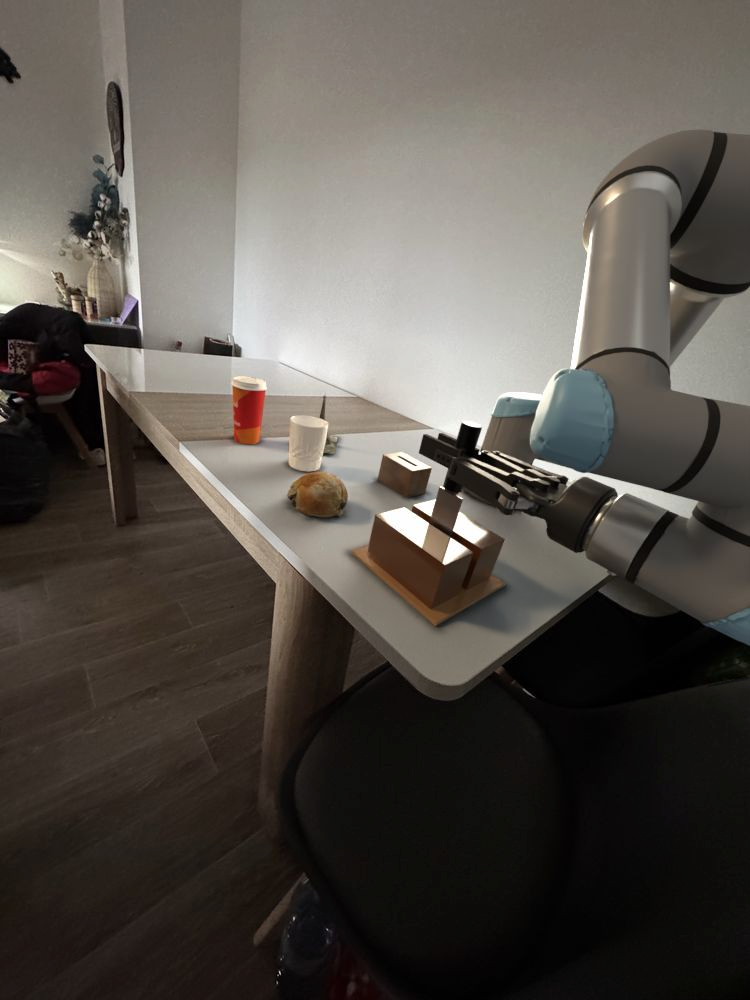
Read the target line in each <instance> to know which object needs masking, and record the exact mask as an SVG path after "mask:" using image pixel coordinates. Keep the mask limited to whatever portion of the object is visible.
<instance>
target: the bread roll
mask: <svg viewBox="0 0 750 1000" xmlns="http://www.w3.org/2000/svg"><path fill="white" fill-rule="evenodd" d="M289 487H290V488H289V489H288V491H287V496H286V497H287V499H289V500H290V501H291V505H292V507H293V508H294V509H295V510H296V511H297V512H299V513H301V514H303V515H305V516H307V517H315V518H316V517H317V518H323V519H328V518H334V517H340V516H342V515H343V514H344V509H345V508H346V505H347V503H348V498H349V495H348V494H349V493H348V489H347V487H346V486H345V484H344V482H343V481H342V480H341V479H340V478H338V477H337V475H336V474H334V473H328V472H324V471H312V472H307V473H305V474H303V475H301V476H300V477H299V478H298V479H296V480H295V481H293V482H292V484H291V485H290V486H289Z"/></svg>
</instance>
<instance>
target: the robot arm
mask: <svg viewBox="0 0 750 1000" xmlns="http://www.w3.org/2000/svg"><path fill="white" fill-rule="evenodd" d="M582 224H583V225H582V232H581V234H582V235H581V236H582V243H583V247H584V248H585V251H586V252H587V256H586V257H587V258H586V265H585V270H584V271H585V272H584V276H583V277H584V278H583V283H582V291H581V297H580V305H579V310H578V311H579V312H578V317H577V324H576V330H575V331H576V332H575V337H574V345H573V350H572V351H573V352H572V359H571V365H570V367H569V368H567V367H566V368H561V369H559V370H557V372H555V373H554V374H553V375H552V377H551V378H550V379H549V380H548V383H547V384H546V387H545V389H544V390H543V393H542V394H539V393H531V392H519V391H518V392H517V391H513V392H510V391H509V392H504V393H503V394H501V395H500V396H499V397H498V398H497V399H496V402H495V405H494V408H493V411H491V413H490V416H491V417H490V420H489V423H488V427H487V428H486V431H485V434H484V438H483V442H482V445H481V447H480V448H477V447H476V448H475V451H474V455H473V458H471V457H469V456H466V455H465V453H466V450H467V449H464V448H460V449H458V448H456V447H455V443H456V440H457V438H456V437H453V436H450V435H448V434H446V433H444V432H438V435H437V437H434V436H433V435H430V434H428V433H424V434H422V438H421V442H420V446H419V450H418V454H420V455H421V456H423V457H425V458H427V459H429V460H431V461H432V462H435V463H437V464H439V465H440V466H442V467H445V468H447V470H448V469H449V473H448V476H447V477H448V478H450V479H451V480H453V481H455V482H456V483H458V484H459V485H461V486H463V489H462V490H464V492H465V493H467V494H468V495H469V496H471V497H473V498H474V499H476V500H478V501H481V502H483V503H486V504H489V505H490V506H491V505H492V506H493V507H495V508H496V509H497V511H499V512H500V513H501V514H503V515H504V516H510V517H511V516H513V514H514V510H520V511H521V512H522V513H523V514H526V515H528V516H530V517H533V518H534V517H536V518H539V519H542V520H544V522H545V524H546V530H545V531H546V536H547V537H548V539H549V540H551V541H553V542H555V543H556V544H559V545H560V546H562V547H564V548H565V549H568V550H570V551H571V552H573V553H575V554H582V553H584V554H585V558H586V559H587V560H589V561H591V562H592V563H595V564H597V565H598V566H600V567H601V568H604V569H605V570H606V571H607V572H606V573H607V574H608V575H609V576H611V577H616V576H617V577H620V578H622V579H624V580H626V581H627V582H628V583H630V584H633V585H635V586H637V587H639V588H641V589H642V590H644V591H646V592H648V593H649V594H652V595H653V596H655V597H656V598H658V599H660V600H662V601H664V602H666V603H667V604H669V605H671V606H673V607H675V608H676V609H678V610H680V611H681V612H683V613H685V614H687V615H688V616H690V617H692V618H694V619H696V620H697V621H699V623H701V624H702V625H703V626H705V627H709V628H711V629H713V630H715V631H717V632H719V633H721V634H723V635H725V636H727V637H730V638H732V639H733V640H735V641H737V642H739V643H740V642H741V643H743V644H745V645H747V646H749V647H750V405H746V404H741V403H737V402H730V401H725V400H719V399H715V398H714V399H713V398H707V397H703V396H699V395H694V394H690V393H685V392H682V391H677V390H673V389H672V388H671V387H672V380H671V367H672V366H673V364H674V363H675V362H676V360H677V359H678V358H679V357H680V356H681V354H682V353H683V352H684V350H685V349H686V347H688V345H689V344H690V343H691V341H692V340H693V339H694V338H695V336H696V335H697V334H698V333H699V331H700V330H701V329H702V328H703V326H704V325H705V324H706V323H707V322H708V320H709V319H710V317H712V315H713V314H714V312H715V311H716V310H717V308H718V307H720V305H721V304H722V303H723V301H724V300H726V299H728V298H733V297H735V296H739V295H742V294H744V293H746V292H747V290H748V289H750V134H742V133H732V132H720V131H713V130H711V129H701V128H698V129H687V130H680V131H676V132H673V133H669V134H665V135H663V136H661V137H658V138H656V139H653V140H652V141H650V142H648V143H646V144H643V145H642V146H641V147H639V148H637V149H636V150H634V151H632V152H631V153H630V154H628V155H627V156H626V157H625V158H623V159H622V160H620V162H618V163H617V164H616V165H615V166H614V167H613V168H612V169H611V170H610V171H609V172H608V173H607V174H606V175H605V177H604V178H603V179H602V180H601V182H600V183H599V184H598V186H597V188H596V189H595V190H594V193H593V194H592V196H591V197H590V200H589V201H588V205H587V208H586V211H585V214H584V219H583V223H582ZM535 460H538V461H542V462H546V463H549V464H553V465H557V466H559V467H565V468H567V469H571V470H573V471H575V472H577V473H581V474H593V475H596V476H600V477H605V478H608V479H613V480H616V481H620V482H623V483H628V484H633V485H637V486H640V487H644V488H649V489H652V490H655V491H659V492H663V493H665V494H669V495H673V496H677V497H682V498H685V499H688V500H692V501H696V502H697V503H696V504H695V506H694V508H693V509H692V511H691V516H690V517H685V516H683V515H679V513H678V514H677V513H675V512H673V511H670V510H669V509H667V508H664V507H662V506H660V505H657V504H655V503H653V502H650V501H647V500H645V499H643V498H641V497H637V496H635V495H633V494H631V493H628V492H625V493H622V494H618V492H617V490H616V488H615V487H612V486H609V485H607V484H605V483H602V482H600V481H597V480H595V479H593V478H590V477H588V476H580V477H577V478H576V479H574V480H573V481H571V482H570V483H569V484H568V482H569V480H570V479H569V478H568V477H567V476H566V475H561V474H559V473H555V472H551V471H548V470H545V469H543V468H541V467H538V466H536V465H533V464H534V462H535ZM567 484H568V485H567Z"/></svg>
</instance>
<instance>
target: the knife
mask: <svg viewBox="0 0 750 1000" xmlns="http://www.w3.org/2000/svg"><path fill="white" fill-rule="evenodd" d="M482 430H483V425H481V424H480V423H477V422H474V421H469V420H463V421H461V423H460V427H459V430H458V433H457V436H456V439H457V440H456V443H455V447H456V448H458V449H460V448H464V449H467V450H466V453H465V455H466V456H469V457H471V458H473V455H474V451H475V448H477V445H478V441H479V439H480V435H481V432H482ZM448 473H449V469H448V468H447V471H446V474H445V478H444V481H443V484H442V486H439V487H438V490H437V493H436V498H435V499H436V500H435V499H434V500H435V504H434V507H433V511H432V514H431V518H430V521H429V524H431V525H432V526H434V527H435V528H437V529H438V530H440V531H441V532H443V533H444V534H446V535H447V536H449V537H451V535H452V532H453V529H454V526H455V523H456V520H457V517H458V514H459V512H461V511H460V510H461V507H462V504H463V502H464V498H463V497H461V496H459V493H462V491H463V490H464V489H463V486H461V485H459V484H458V483H456V482H455V481H453V480H451V479H450V478H448V477H447V476H448Z"/></svg>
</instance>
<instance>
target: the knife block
mask: <svg viewBox="0 0 750 1000" xmlns="http://www.w3.org/2000/svg"><path fill="white" fill-rule="evenodd" d="M380 461H381V462H380V467H379V471H378V476H377V481H379V482H380V483H382V484H384V485H385V486H387V487H388V488H390V489H391V490H393V491H394V492H395V493H398V494H399V495H401V496H403V497H404V498H406V499H407V498H412V497H415V496H419V495H423V494H426V491H427V488H428V483H429V479H430V477H431V473H432V469H433V467H432V466H430V465H427V464H426V463H424V462H422V461H420V460H419V459H416V458H415V457H413V456H411V455H409V454H407V453H405V452H403V451H400V452H392V453H391V452H390V453H382V457H381V460H380Z"/></svg>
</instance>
